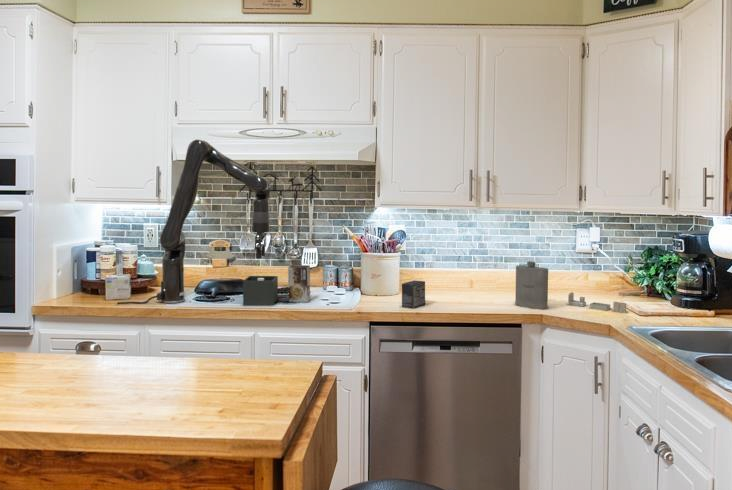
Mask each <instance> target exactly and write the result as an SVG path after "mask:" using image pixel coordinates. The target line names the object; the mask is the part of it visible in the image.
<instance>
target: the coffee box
mask: <svg viewBox="0 0 732 490" xmlns="http://www.w3.org/2000/svg"><path fill="white" fill-rule="evenodd" d="M287 275H288V277H287V280H288V281H287V283H288V303H308V302H310V301H311V265H309V264H307V265H306V264H304V265H301V264H298V265H295V264H291V265H290V266H288V267H287Z"/></svg>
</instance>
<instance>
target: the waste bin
mask: <svg viewBox="0 0 732 490" xmlns="http://www.w3.org/2000/svg"><path fill="white" fill-rule="evenodd" d="M258 278H264V281H258ZM278 278H279V275H248V276H247V277H246V278H245V279H244V280H242V305H243V306H257V307H258V306H260V307H261V306H266V307H267V306H268V307H269V306H274V305H275V304H276V302H277V301H278V299H279V296H278V295H279V294H278V293H279V290H278V289H279V287H278V286H279V285H278V284H279V282H278V281H279V279H278Z"/></svg>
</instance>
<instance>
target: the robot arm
mask: <svg viewBox="0 0 732 490" xmlns="http://www.w3.org/2000/svg"><path fill="white" fill-rule="evenodd" d="M204 162H205V163H208V164H210V165H213V166H215V168H218V169H219V170H221V171H222V172H223V173H225V174H227V175H228V176H229V177H231V178H232V179H234V180H236V181H238V182H239V183H241V184H243V185H245V186H246V188H249V189H250V190H251V191H253V192H254V199H253V201H252V215H251V216H252V218H251V220H252V221H251V222H252V223H251V229H252V233H256V235H254V250H255V253H256V254H255V255H256V257H255V258H256V259H259V260H260V259H262V257H264V256H266V248H267V247H266V246H267V233H269V232H270V202H269V201H270V194H271V184H270V183H271V182H270V180H269V179H268V178H267V177H265V176H260V175H258V174H256V173H254V172H253V171H252V170H251V169H250V168H247V167H246V166H244V165H243V164H241V163H240V162H237V161H235V160H233V159H232V158H230V157H228V156H226V155H224V154H223V153H221V152H220V151H218V150H217V148H215V147H214V146H212V145H211V144H210V143H209V142H207V141H206V140H202V139H193V140H192V141H190V143H189V144H188V146H187V149H186V155H185V159H184V164H183V169H182V172H181V174H180V176H179V179H178V183H177V186H176V188H175V191H174V195H173V199H172V202H171V206H170V209H169V213H168V217H167V219H166V222H165V225H164V227H163V229H162V231H161V234H160V236H159V244H160V246H161V247H162V248H163V249H164V254H163V256H162V259H161V262H162V263H161V264H162V265H161V269H162V270H161V271H162V273H161V274H162V280H161V281H160V291H159V292H157V293H156V295H154V296H152V297H149V298H148V299H147V300H145V301H118V302H117V305H124V304H125V305H127V304H128V305H129V304H137V305H143V304H147V303H149V302H150V301H151V300H153V299H156V301H160V303H164V304H178V303H183V302H185V293H186V292H185V257H186V236H185V233H184V231H182V230H183V227H184V223H185V221H186V219H187V217H188V215H189V214H190V213H191V211H192V209H193V208H194V204H195V202H196V199H197V197H198V192H199V184H200V183H199V180H200V179H199V178H200V171H201V169H202V165H203V163H204Z"/></svg>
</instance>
